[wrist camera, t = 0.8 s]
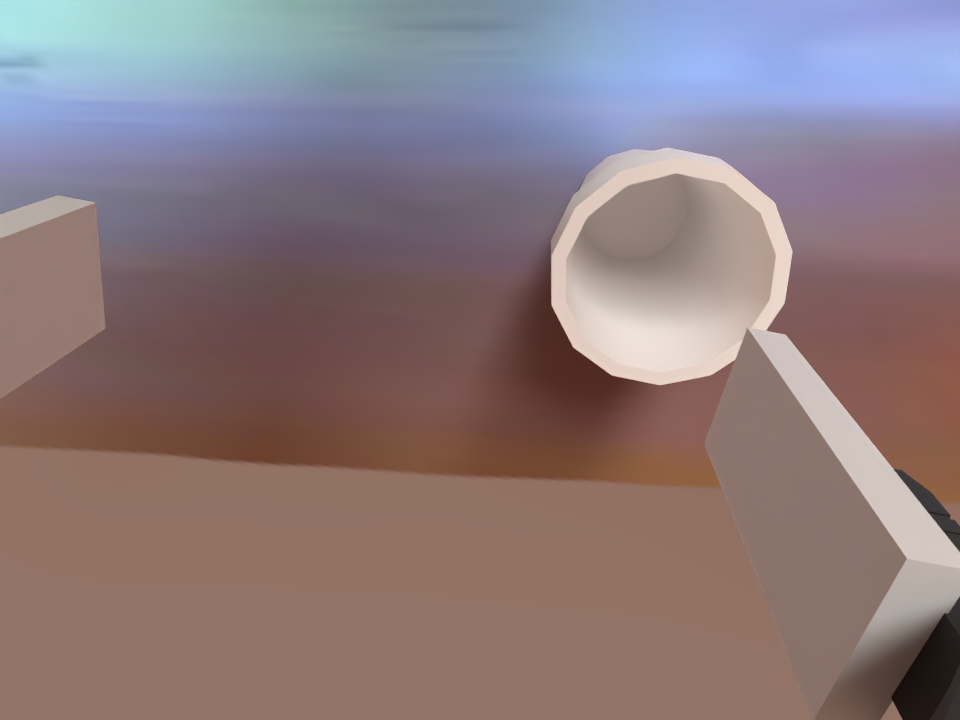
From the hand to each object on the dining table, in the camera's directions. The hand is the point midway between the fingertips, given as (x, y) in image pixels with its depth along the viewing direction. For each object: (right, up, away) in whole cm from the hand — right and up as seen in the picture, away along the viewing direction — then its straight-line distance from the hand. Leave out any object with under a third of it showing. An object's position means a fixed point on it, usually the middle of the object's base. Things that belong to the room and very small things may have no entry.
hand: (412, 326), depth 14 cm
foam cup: (+10, +8, +25) cm, 28 cm away
